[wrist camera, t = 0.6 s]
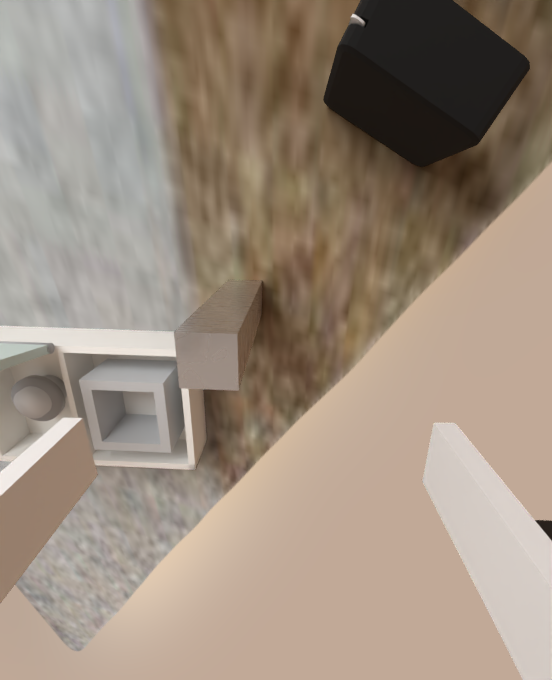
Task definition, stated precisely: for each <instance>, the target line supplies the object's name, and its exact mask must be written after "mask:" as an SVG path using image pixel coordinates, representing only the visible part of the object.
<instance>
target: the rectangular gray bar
mask: <svg viewBox="0 0 552 680" xmlns="http://www.w3.org/2000/svg"><path fill="white" fill-rule="evenodd" d="M261 315H262V281H256V280H228V281H227V282H225V283H224V284H223V285H222V286H221V287H220V288H219V289H218V290H217V291H216V292H215V293H214V294H213V295H212V296H211V297H210V298H209V299H208V300H207V301H206V302H205V303H204V304H203V305H201V306H200V307H199V308H198V309H197V310H196V311H195V312H194V313H193V314H192V315H191V316H190V317H189V318H188V319H187V320H186V321H185V322H184V323H183V324H182V325H181V326H180V327H179V328H177V329H176V330H175V331H174V339H175V349H176V359H177V369H178V379H179V388H185V389H211V390H237V391H239V388H240V385H241V381H242V378H243V375H244V371H245V368H246V365H247V361H248V358H249V355H250V351H251V348H252V345H253V341H254V338H255V335H256V332H257V328H258V325H259V322H260V318H261Z"/></svg>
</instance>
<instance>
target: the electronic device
mask: <svg viewBox="0 0 552 680" xmlns="http://www.w3.org/2000/svg"><path fill="white" fill-rule="evenodd" d="M529 69H530V64H529V61H528V60H527V58H526V57H525V56H524V55H523V54H521V53H520V52H519V51H517V50H516V49H515V48H514V47H512V46H511V45H510V44H508V43H507V42H506V41H504V40H503V39H502V38H501V37H499V36H498V35H497V34H495V33H494V32H493V31H492V30H490V29H489V28H488V27H486V26H485V25H484V24H482V23H481V22H480V21H479V20H477V19H476V18H475V17H473V16H472V15H471V14H469V13H468V12H467V11H466V10H464V9H463V8H462V7H460V6H459V5H458V4H456V3H455V2H454V1H453V0H361V1H360V3H359V5H358V7H357V9H356V11H355V13H354V14H353V15H352V17H351V19H350V22H349V26H348V27H347V29H346V31H345V33H344V35H343V37H342V39H341V41H340V43H339V45H338V47H337V51H336V55H335V58H334V62H333V66H332V69H331V73H330V77H329V80H328V84H327V88H326V91H325V95H324V99H323V100H324V102H325V104H326V105H327V106H328V107H329V108H331V109H332V110H333V111H335V112H336V113H338V114H339V115H341V116H342V117H344V118H345V119H347V120H348V121H350V122H351V123H353V124H354V125H356V126H357V127H359V128H360V129H362V130H363V131H365V132H366V133H368V134H369V135H371V136H372V137H374V138H375V139H377V140H378V141H380V142H381V143H383V144H384V145H386V146H387V147H389V148H390V149H392V150H393V151H395V152H396V153H398V154H399V155H401V156H402V157H404V158H405V159H407V160H408V161H410V162H411V163H413V164H415V165H417V166H420V167H423V166H426V165H429V164H431V163H434V162H436V161H439V160H441V159H444V158H446V157H448V156H451V155H453V154H456V153H458V152H461V151H463V150H466V149H468V148H471V147H473V146H475V145H477V144H478V143H479V142H480V141H481V139H482V138H483V136H484V135H485V133H486V132H487V130H488V129H489V128H490V126H491V125H492V123H493V122H494V120H495V119H496V117H497V116H498V114H499V113H500V111H501V110H502V109H503V107H504V106H505V104H506V103H507V101H508V100H509V98H510V97H511V95H512V94H513V92H514V91H515V90H516V88H517V87H518V85H519V84H520V82H521V81H522V79H523V78H524V76H525V75H526V73H527V72H528V71H529Z"/></svg>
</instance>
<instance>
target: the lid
mask: <svg viewBox="0 0 552 680" xmlns="http://www.w3.org/2000/svg"><path fill="white" fill-rule="evenodd" d="M54 350H55V346H54V344H53V343H38V342H8V341H0V371H1V370H3V369H6V368H9V367H12V366H15V365H18V364H20V363H23V362H26V361H29V360H32V359H35V358H38V357H40V356H43V355H46V354H52V353H53V352H54Z"/></svg>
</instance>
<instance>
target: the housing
mask: <svg viewBox="0 0 552 680" xmlns="http://www.w3.org/2000/svg"><path fill="white" fill-rule="evenodd" d="M0 341H8V342H38V343H53V344H54V346H55V350H54V352H53V353H52V354H46V355H43V356H40V357H38V358H35V359H32V360H29V361H26V362H23V363H20V364H18V365H15V366H12V367H9V368H6V369H3V370H1V371H0V461H14V460H15V459H16V458H17V457H18V456H20V455H21V454H22V453H23V452H24V451H25V450H26V449H28V448H29V447H30V446H31V445H32V444H33V443H35V442H36V441H37V440H38V439H39V438H40V437H41V436H43V435H44V434H45V433H46V432H47V431H48V430H50V429H51V428H52V427H53V426H54V425H55V424H56V423H58V422H59V421H60V420H61V419H62V418H83V421H84V425H85V429H86V433H87V436H88V440H89V444H90V447H91V451H92V455H93V459H94V462H95V465H102V466H123V467H144V468H166V469H187V470H196V467H197V465H198V462H199V460H200V457H201V454H202V452H203V449H204V446H205V444H206V441H207V434H206V419H205V405H204V390H203V389H185V388H179V379H178V369H177V359H176V349H175V339H174V331H146V330H115V329H85V328H54V327H23V326H0Z"/></svg>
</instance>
